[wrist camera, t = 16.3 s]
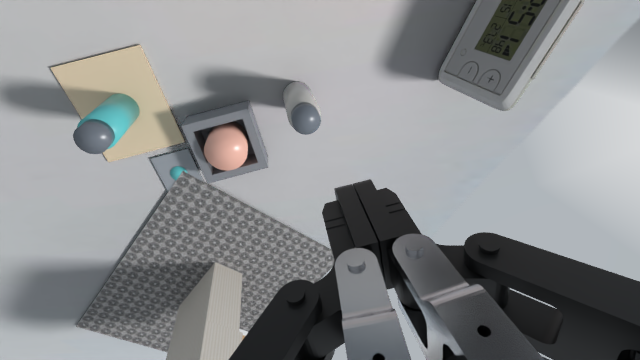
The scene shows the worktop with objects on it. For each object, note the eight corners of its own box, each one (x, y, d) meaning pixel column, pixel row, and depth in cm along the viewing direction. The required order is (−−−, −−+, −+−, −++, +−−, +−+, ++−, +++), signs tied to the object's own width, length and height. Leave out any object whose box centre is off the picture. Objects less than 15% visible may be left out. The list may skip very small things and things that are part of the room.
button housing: (186, 116, 42) (181, 126, 39) (249, 100, 42) (248, 108, 39) (211, 171, 46) (207, 183, 43) (267, 156, 46) (268, 167, 43)
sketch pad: (51, 67, 37) (50, 67, 37) (140, 44, 37) (139, 45, 37) (109, 161, 43) (108, 162, 43) (185, 141, 43) (184, 142, 43)
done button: (202, 126, 42) (197, 138, 38) (241, 116, 42) (239, 127, 38) (217, 160, 44) (213, 175, 41) (253, 151, 44) (252, 164, 41)
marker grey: (279, 87, 41) (284, 110, 34) (306, 77, 41) (317, 99, 34) (288, 113, 43) (295, 141, 36) (314, 104, 43) (327, 130, 36)
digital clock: (508, -63, 38) (588, -81, 28) (553, -11, 41) (637, -13, 32) (416, 64, 43) (458, 83, 34) (462, 100, 46) (511, 126, 37)
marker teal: (100, 96, 39) (61, 126, 31) (132, 91, 39) (101, 119, 31) (114, 125, 40) (81, 159, 33) (144, 119, 41) (119, 152, 33)
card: (151, 158, 43) (150, 159, 43) (188, 148, 44) (187, 149, 43) (171, 195, 46) (170, 196, 46) (206, 186, 47) (205, 187, 46)
